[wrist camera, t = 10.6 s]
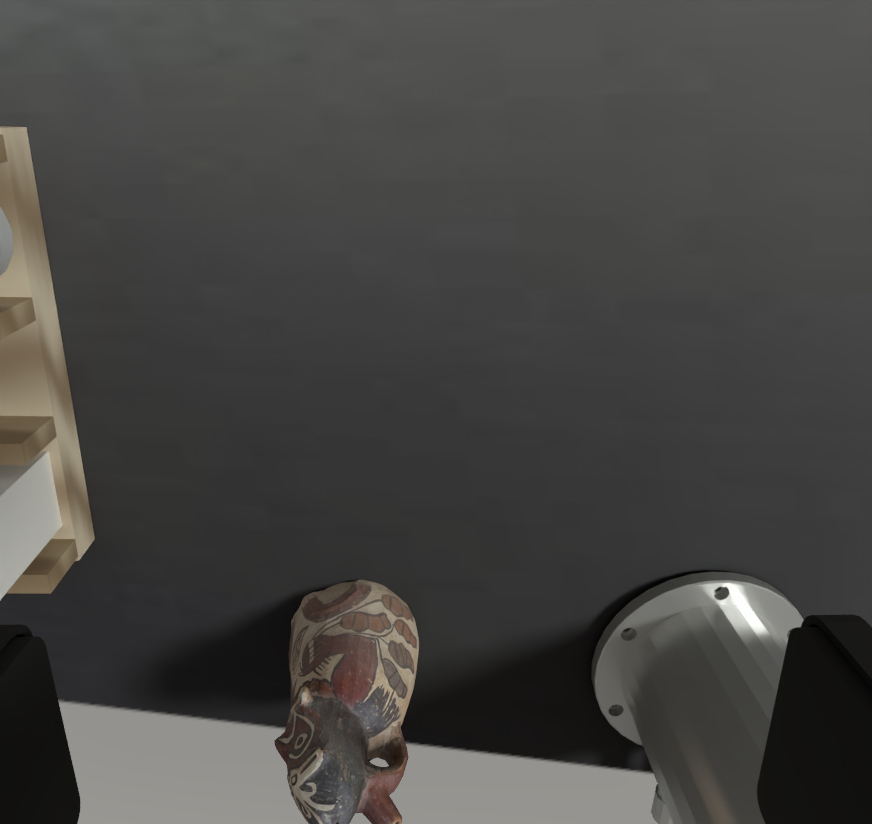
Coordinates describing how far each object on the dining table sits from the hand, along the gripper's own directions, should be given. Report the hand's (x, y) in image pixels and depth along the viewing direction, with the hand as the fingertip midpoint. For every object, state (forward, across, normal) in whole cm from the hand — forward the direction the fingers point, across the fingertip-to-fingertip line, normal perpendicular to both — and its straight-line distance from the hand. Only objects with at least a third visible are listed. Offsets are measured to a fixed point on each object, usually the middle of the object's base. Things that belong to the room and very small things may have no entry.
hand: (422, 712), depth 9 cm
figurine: (+27, +4, +19) cm, 33 cm away
